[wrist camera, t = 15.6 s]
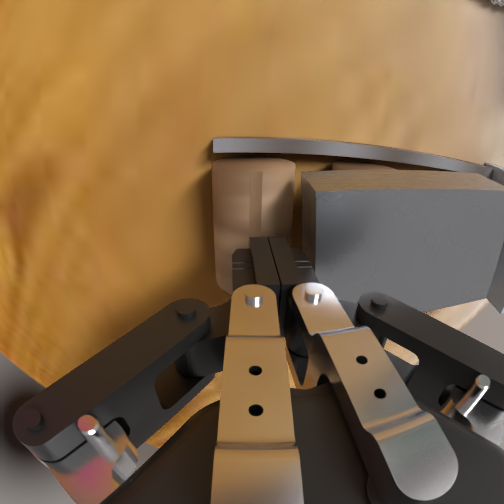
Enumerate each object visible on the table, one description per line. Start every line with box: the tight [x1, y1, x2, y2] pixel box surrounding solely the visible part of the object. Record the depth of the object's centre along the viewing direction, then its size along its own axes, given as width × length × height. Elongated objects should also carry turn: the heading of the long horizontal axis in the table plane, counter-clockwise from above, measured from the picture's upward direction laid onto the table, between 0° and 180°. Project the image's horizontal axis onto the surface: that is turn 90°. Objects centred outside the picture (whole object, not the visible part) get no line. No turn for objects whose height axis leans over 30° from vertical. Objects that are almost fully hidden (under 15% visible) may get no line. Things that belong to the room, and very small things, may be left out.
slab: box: [301, 170, 504, 312], centre depth 12 cm, size 10×6×3 cm, turn 95°
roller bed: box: [212, 137, 494, 295], centre depth 16 cm, size 19×8×4 cm, turn 89°
